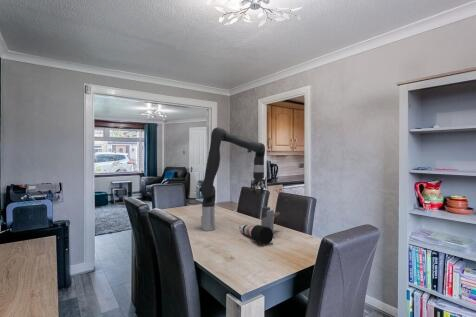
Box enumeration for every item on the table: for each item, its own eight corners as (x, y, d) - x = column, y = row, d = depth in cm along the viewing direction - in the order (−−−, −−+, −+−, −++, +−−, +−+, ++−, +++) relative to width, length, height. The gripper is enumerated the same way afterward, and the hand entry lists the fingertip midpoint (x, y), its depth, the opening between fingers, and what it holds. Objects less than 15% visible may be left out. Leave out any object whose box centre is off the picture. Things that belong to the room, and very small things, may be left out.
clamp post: (261, 236, 174) (261, 209, 174) (264, 235, 177) (264, 208, 177) (270, 238, 170) (270, 211, 169) (273, 237, 173) (273, 210, 172)
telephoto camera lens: (243, 236, 188) (248, 223, 190) (269, 246, 157) (275, 230, 160) (232, 232, 184) (237, 218, 187) (256, 241, 154) (262, 224, 156)
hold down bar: (261, 218, 174) (261, 207, 174) (275, 214, 187) (275, 203, 187) (266, 219, 172) (266, 208, 172) (279, 214, 185) (279, 204, 185)
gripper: (260, 170, 189) (259, 192, 189) (248, 171, 178) (247, 195, 178) (268, 171, 184) (268, 194, 184) (256, 172, 173) (256, 196, 173)
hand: (258, 194), depth 181 cm, fingers open, 8 cm apart
